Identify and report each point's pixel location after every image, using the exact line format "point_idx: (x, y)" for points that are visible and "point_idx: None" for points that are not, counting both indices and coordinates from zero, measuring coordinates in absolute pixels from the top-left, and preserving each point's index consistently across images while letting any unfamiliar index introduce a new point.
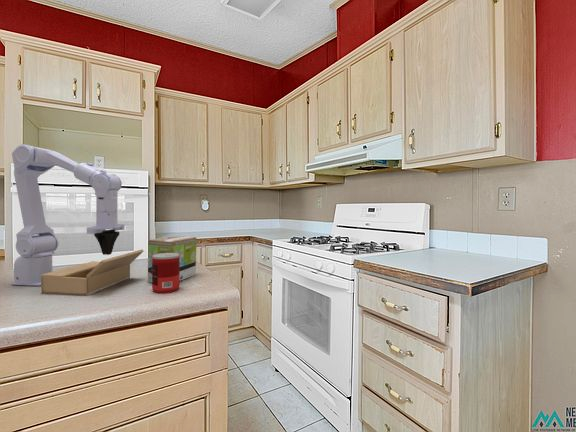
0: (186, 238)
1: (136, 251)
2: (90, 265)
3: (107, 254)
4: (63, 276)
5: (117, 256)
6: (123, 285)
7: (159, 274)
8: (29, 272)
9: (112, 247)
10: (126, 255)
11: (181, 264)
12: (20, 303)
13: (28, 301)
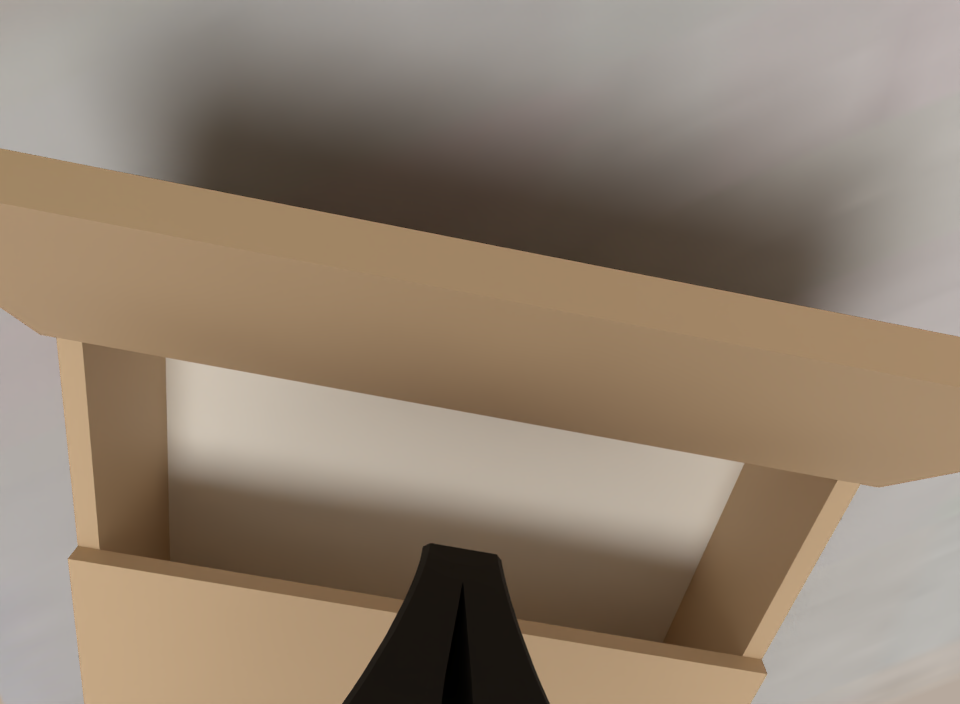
0: None
1: (70, 204)
2: (297, 652)
3: (501, 571)
4: (752, 663)
5: (761, 340)
6: (462, 183)
7: None
8: None
9: (425, 624)
10: (503, 256)
11: None
12: (873, 659)
13: (839, 643)
